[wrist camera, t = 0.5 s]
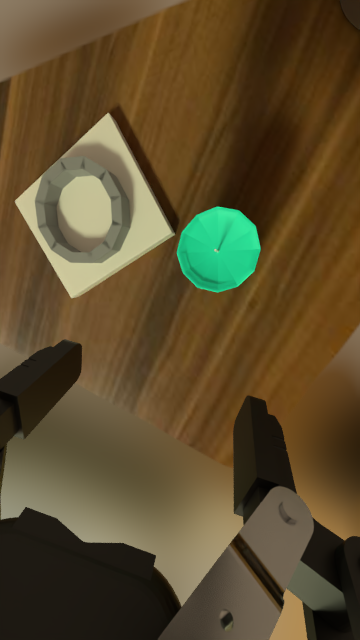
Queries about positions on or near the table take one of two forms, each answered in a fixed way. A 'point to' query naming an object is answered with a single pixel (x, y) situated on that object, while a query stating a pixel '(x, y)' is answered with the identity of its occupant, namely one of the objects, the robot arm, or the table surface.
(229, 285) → the candle
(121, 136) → the jig plate
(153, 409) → the table surface
